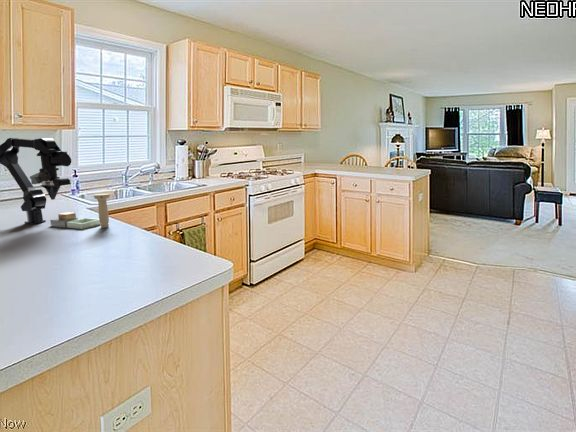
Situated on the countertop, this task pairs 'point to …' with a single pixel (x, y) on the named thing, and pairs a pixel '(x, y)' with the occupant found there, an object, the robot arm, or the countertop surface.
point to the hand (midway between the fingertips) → (52, 199)
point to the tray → (83, 223)
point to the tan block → (67, 216)
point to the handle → (103, 209)
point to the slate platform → (60, 222)
